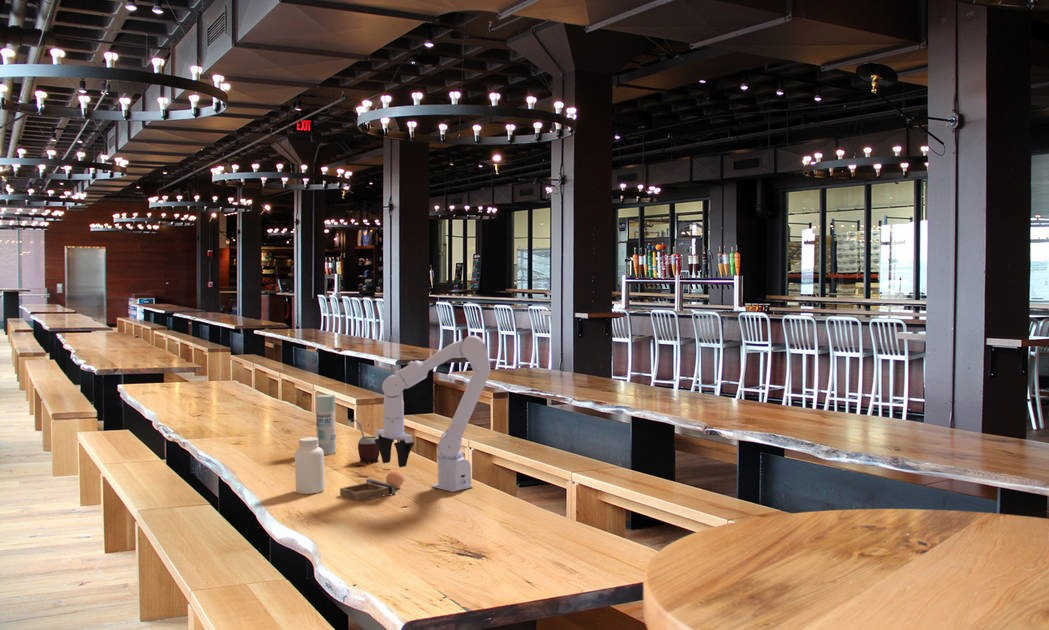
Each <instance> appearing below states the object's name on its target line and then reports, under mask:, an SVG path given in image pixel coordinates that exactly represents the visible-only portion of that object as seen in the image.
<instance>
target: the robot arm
mask: <svg viewBox="0 0 1049 630" xmlns="http://www.w3.org/2000/svg"><path fill="white" fill-rule="evenodd" d="M484 342H485V341H484V340H483V339H482V338H481V337H480V336H479V335H476V334H471V335H468V336H467V337H465V338H464V339H460V340H457V341H454V342H453V343H451V344H448V345H446V346H445V347H444V348H442V349H441V350H439V351H438V352H436V353H434V354H433V355H431V356H429V357H428V358H426V359H425V360H424V361H420V360H414V361H413V360H410V361H409V362H407V365H406V366H404V367H403V368H401V369H399V370H396V369H395V370H394V371H393V374H391V375H389V376H388V377H386V378H385V379H384V381H383V382H382V385H381V388H382V391H383V429H382V428H381V429H376V430H375V435H376V436H375V437H377V439H375V443H376V444H377V446H378V448H379V455H380V458H381V461H382V464H389V463H391V460H392V459H391V458H392V456H391V455H392V447H393V446H394V447H395V450H396V455H397V463H398V467H399V468H404V467H407V463H408V460H409V455H410V453H411V450H412V448H413V446H414V445H415V442H414V440H413V435H412V434H409V433H407V432H405V416H404V415H405V414H404V413H405V410H404V409H405V402H404V392H403V391H404V390H405V389H406V390H407V389H409V388H411V387H413V386H415V385H417V384H418V383H420V382H421V381H423V380H425V379H426V378H428V373H429V371H431V370H433V369H434V368H436V367H438V366H440V365H442V364H444V363H445V362H447V361H449V360H451V359H462V357H463V356H464V358H465V359H466V360H467V361H468V362H469V364H470V366H471V369H472V371H473V372H472V374H471V377H470V379H469V381H468V384H467V386H466V388H465V391H464V393H463V395H462V397H461V399H460V402H459V404H458V406H457V409H456V410H455V413H454V415H453V417H452V420H451V422H450V424H449V426H448V427H447V429H446V430H445V431H444V432H443V433H442V434H441V435H440V438H439V442H438V444H437V448H438V452H439V453H438V454H437V483H435V484H431V487H432V488H437V489H441V490H445V491H448V492H459V491H462V490H466V489H471V488H473V487H474V485H473V484H472V471H471V470H472V467H471V466H472V465H471V463H470V461H469V460H468V459H466V458H465V457H464V452H462V451H461V445H462V441H463V440H462V438H463V435H464V433H465V431H466V428H467V425H468V423H469V421H470V419H471V416H472V414H473V413H474V410H475V408H476V405H477V403H478V401H479V399H480V397H481V395H482V392H483V390H484V387H486V386H485V385H486V384H487V381H488V379H489V376H490V374H491V365H490V360H489V354H488V348H487V345H486V344H485V343H484ZM394 440H395V441H398V442H394Z"/></svg>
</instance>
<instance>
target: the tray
mask: <svg viewBox="0 0 1049 630" xmlns="http://www.w3.org/2000/svg"><path fill="white" fill-rule="evenodd" d="M340 495H341V497H343V496H344V498H347V497H348V498H347V499H350V498H351V500H353V499H354V500H353V501H357V500H358V501H357V502H360V501H361V502H364V501H363V500H365V501H368V500H367V499H369V500H372V499H371V498H374V499H376V498H375V497H378V498H380V497H379V496H382V497H384V496H383V495H387V496H390V494H389V488H388V487H384V486H381V485H377V484H373V483H369V482H368V483H366V482H365V483H364V482H363V483H360V484H356V485H350V486H344V487H340V488H339V496H340Z"/></svg>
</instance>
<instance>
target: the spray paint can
mask: <svg viewBox="0 0 1049 630" xmlns="http://www.w3.org/2000/svg"><path fill="white" fill-rule="evenodd" d="M315 412H316V414H315V415H316V416H315V417H316V419H315V420H316V438H318V444H319V446H318V447H320V448H321V449H322V450H323V452H324V456H329V455H331V456H332V455H335V454H336V452H337V450H336V445H337V444H336V442H337V441H336V435H337V434H336V395H335V394H318V395H316V396H315Z"/></svg>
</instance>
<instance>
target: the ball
mask: <svg viewBox="0 0 1049 630" xmlns="http://www.w3.org/2000/svg"><path fill="white" fill-rule="evenodd" d="M404 480H405V479H404V474H403V473H402V472H401V471H399V470H391V471H389V472H388V473H387V475H386V478H385V483H388V484H392V485H395V489H398V488H400V487H401V486H402V485H403V484H404Z"/></svg>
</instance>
